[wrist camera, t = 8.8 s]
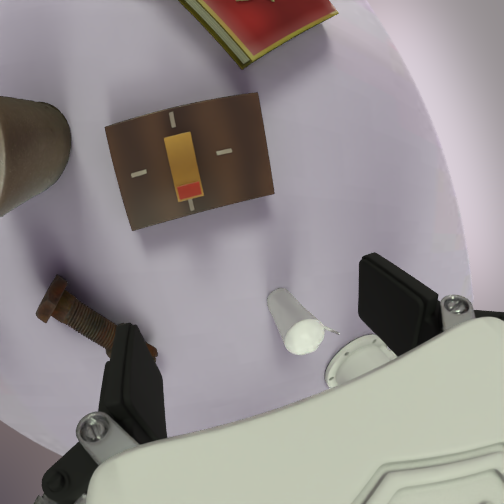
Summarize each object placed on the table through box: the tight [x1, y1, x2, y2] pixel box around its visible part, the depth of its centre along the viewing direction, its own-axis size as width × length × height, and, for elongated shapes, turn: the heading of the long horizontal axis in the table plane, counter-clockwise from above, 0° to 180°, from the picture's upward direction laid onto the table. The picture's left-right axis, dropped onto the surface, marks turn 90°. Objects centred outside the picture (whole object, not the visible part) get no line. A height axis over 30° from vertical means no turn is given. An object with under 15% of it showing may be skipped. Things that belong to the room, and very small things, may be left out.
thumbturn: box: [164, 132, 204, 202], centre depth 23 cm, size 5×2×5 cm, turn 10°
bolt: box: [36, 275, 158, 362], centre depth 29 cm, size 6×5×15 cm
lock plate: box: [105, 92, 274, 231], centre depth 26 cm, size 14×10×3 cm
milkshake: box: [267, 288, 339, 355], centre depth 33 cm, size 4×5×10 cm
